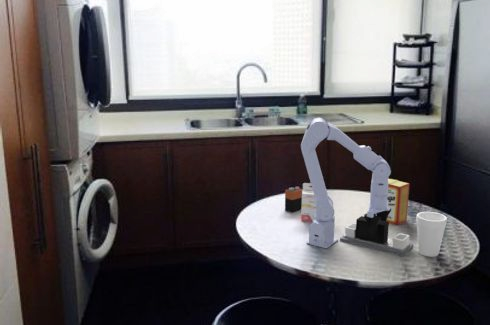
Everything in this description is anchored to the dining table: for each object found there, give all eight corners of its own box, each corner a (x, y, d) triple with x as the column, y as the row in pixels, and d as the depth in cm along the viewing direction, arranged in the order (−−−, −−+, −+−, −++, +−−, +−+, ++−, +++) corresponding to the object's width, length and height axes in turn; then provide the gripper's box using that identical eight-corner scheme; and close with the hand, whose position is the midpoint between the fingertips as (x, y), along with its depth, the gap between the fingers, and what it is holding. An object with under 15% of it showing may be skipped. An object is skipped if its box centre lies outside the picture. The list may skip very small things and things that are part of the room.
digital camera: (389, 239, 176) (390, 220, 174) (383, 244, 172) (384, 225, 170) (361, 232, 182) (362, 214, 180) (355, 237, 178) (356, 219, 176)
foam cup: (420, 244, 175) (423, 209, 172) (447, 251, 169) (450, 215, 166) (409, 253, 168) (412, 217, 165) (437, 261, 162) (440, 223, 159)
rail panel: (403, 256, 166) (403, 251, 165) (339, 240, 179) (340, 236, 179) (413, 246, 174) (413, 242, 173) (351, 232, 187) (351, 228, 186)
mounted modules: (402, 249, 168) (403, 240, 167) (345, 235, 180) (345, 227, 179) (408, 243, 172) (409, 234, 172) (352, 230, 184) (352, 222, 184)
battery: (284, 210, 211) (284, 187, 209) (295, 207, 215) (296, 184, 213) (291, 213, 208) (292, 190, 205) (303, 209, 212) (303, 187, 209)
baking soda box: (406, 221, 198) (409, 182, 194) (397, 225, 193) (400, 185, 190) (385, 215, 205) (388, 177, 201) (376, 219, 200) (378, 180, 196)
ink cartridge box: (301, 221, 198) (302, 186, 194) (301, 217, 203) (301, 182, 199) (323, 222, 197) (324, 186, 194) (322, 218, 202) (323, 183, 198)
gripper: (382, 201, 164) (379, 240, 167) (397, 191, 175) (395, 227, 179) (362, 197, 168) (360, 235, 171) (378, 187, 179) (376, 223, 183)
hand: (376, 231), depth 175 cm, fingers open, 7 cm apart
